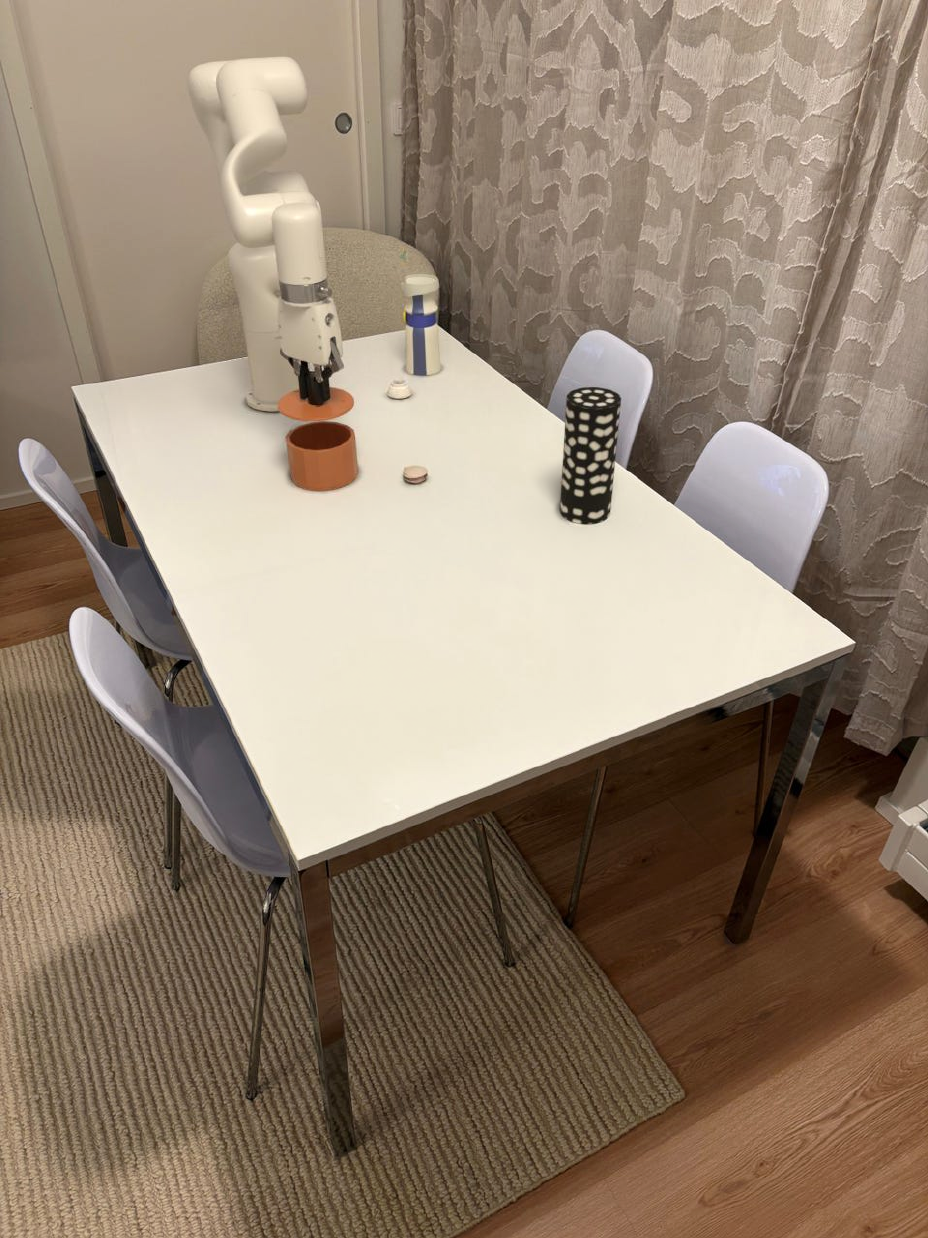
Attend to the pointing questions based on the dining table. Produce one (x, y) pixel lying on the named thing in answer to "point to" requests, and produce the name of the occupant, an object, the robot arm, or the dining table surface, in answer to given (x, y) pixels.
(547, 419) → the dining table surface
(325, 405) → the lid
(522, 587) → the dining table surface
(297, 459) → the orange hollow cylinder
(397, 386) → the white jar
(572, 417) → the white-spotted black cylinder
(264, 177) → the robot arm
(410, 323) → the water bottle
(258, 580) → the dining table surface
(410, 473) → the macaroon
